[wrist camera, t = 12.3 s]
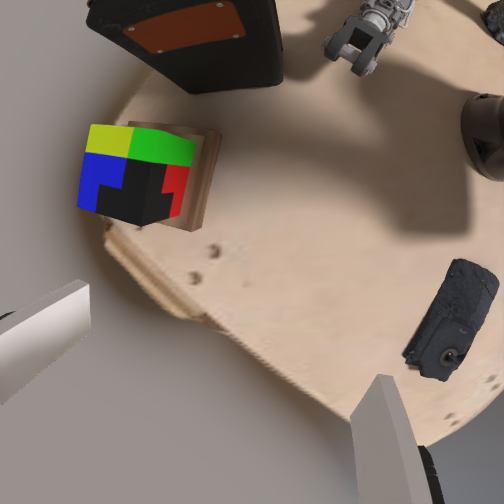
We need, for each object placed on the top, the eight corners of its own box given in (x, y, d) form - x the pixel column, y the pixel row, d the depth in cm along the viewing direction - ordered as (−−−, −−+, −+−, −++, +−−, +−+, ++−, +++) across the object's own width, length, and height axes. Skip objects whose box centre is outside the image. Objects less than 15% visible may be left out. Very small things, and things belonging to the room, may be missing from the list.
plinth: (222, 135, 37) (213, 130, 32) (201, 227, 40) (190, 232, 36) (142, 125, 38) (127, 120, 34) (126, 207, 42) (111, 210, 38)
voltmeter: (284, 42, 31) (262, -78, 7) (288, 90, 33) (268, -27, 9) (186, 54, 34) (93, -27, 10) (184, 100, 36) (71, 35, 12)
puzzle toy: (122, 199, 37) (77, 206, 27) (135, 134, 34) (91, 124, 25) (179, 215, 36) (141, 226, 26) (196, 142, 33) (160, 130, 24)
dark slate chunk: (501, 277, 34) (515, 285, 29) (449, 374, 40) (458, 387, 35) (452, 250, 35) (466, 258, 30) (395, 362, 41) (402, 378, 36)
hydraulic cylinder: (312, 72, 30) (322, 29, 20) (392, -20, 26) (405, -48, 16) (358, 100, 30) (383, 64, 20) (423, -1, 25) (440, -27, 16)
